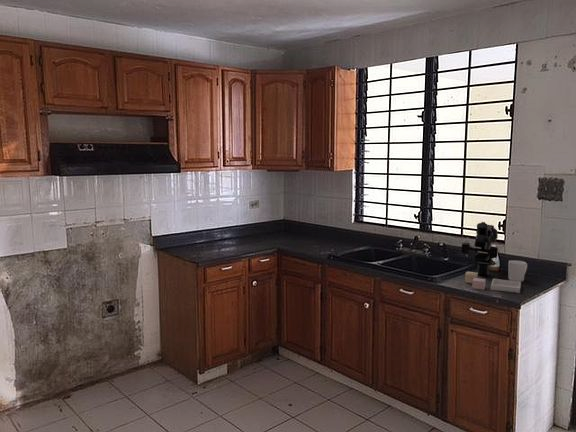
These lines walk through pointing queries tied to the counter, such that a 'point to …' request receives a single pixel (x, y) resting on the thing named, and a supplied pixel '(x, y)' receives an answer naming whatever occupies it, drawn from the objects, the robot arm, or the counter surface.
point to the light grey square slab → (506, 285)
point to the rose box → (478, 283)
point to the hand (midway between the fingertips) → (476, 258)
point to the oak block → (470, 277)
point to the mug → (517, 270)
